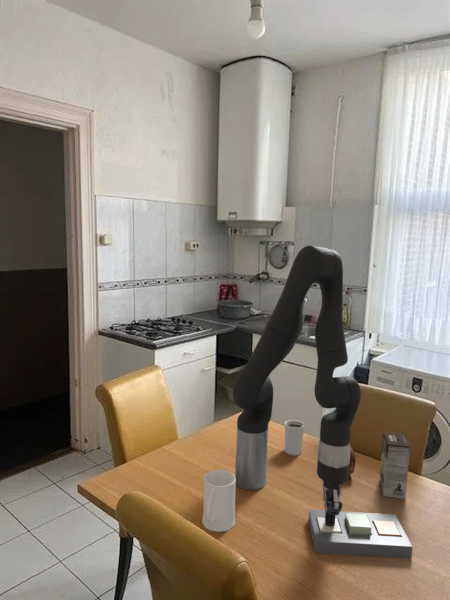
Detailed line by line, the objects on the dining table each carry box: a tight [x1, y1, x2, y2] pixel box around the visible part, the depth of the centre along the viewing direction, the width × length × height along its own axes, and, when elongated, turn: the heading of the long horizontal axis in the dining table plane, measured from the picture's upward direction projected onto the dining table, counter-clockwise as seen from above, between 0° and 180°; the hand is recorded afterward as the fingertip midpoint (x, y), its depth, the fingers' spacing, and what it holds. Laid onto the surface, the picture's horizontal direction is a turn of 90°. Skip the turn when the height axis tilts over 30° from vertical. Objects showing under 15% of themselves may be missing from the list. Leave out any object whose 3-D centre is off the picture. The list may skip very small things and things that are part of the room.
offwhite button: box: [317, 517, 341, 533], centre depth 107 cm, size 5×5×3 cm
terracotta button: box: [373, 520, 401, 537], centre depth 107 cm, size 5×5×3 cm
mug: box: [201, 469, 237, 533], centre depth 110 cm, size 12×8×12 cm
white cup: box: [284, 419, 305, 456], centre depth 150 cm, size 7×7×10 cm
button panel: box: [308, 509, 413, 559], centre depth 107 cm, size 22×12×3 cm, turn 87°
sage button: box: [345, 513, 371, 535], centre depth 107 cm, size 5×5×3 cm
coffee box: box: [379, 431, 411, 500], centre depth 128 cm, size 9×6×16 cm
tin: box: [349, 445, 356, 475], centre depth 141 cm, size 15×3×8 cm, turn 5°
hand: (329, 524), depth 107 cm, fingers closed
